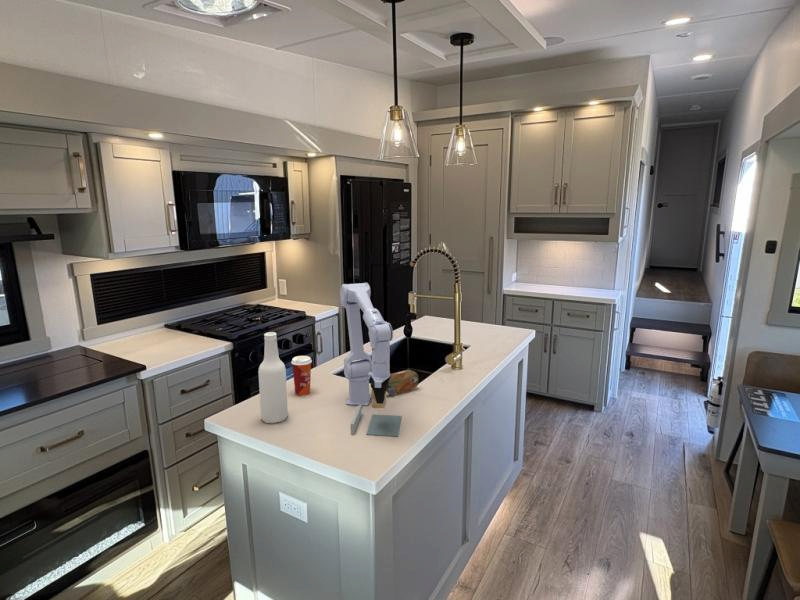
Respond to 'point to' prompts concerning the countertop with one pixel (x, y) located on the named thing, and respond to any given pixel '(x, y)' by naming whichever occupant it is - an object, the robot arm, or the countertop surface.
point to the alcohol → (272, 383)
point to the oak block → (377, 405)
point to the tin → (402, 382)
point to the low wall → (356, 419)
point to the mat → (384, 425)
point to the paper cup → (302, 374)
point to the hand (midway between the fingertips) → (380, 400)
